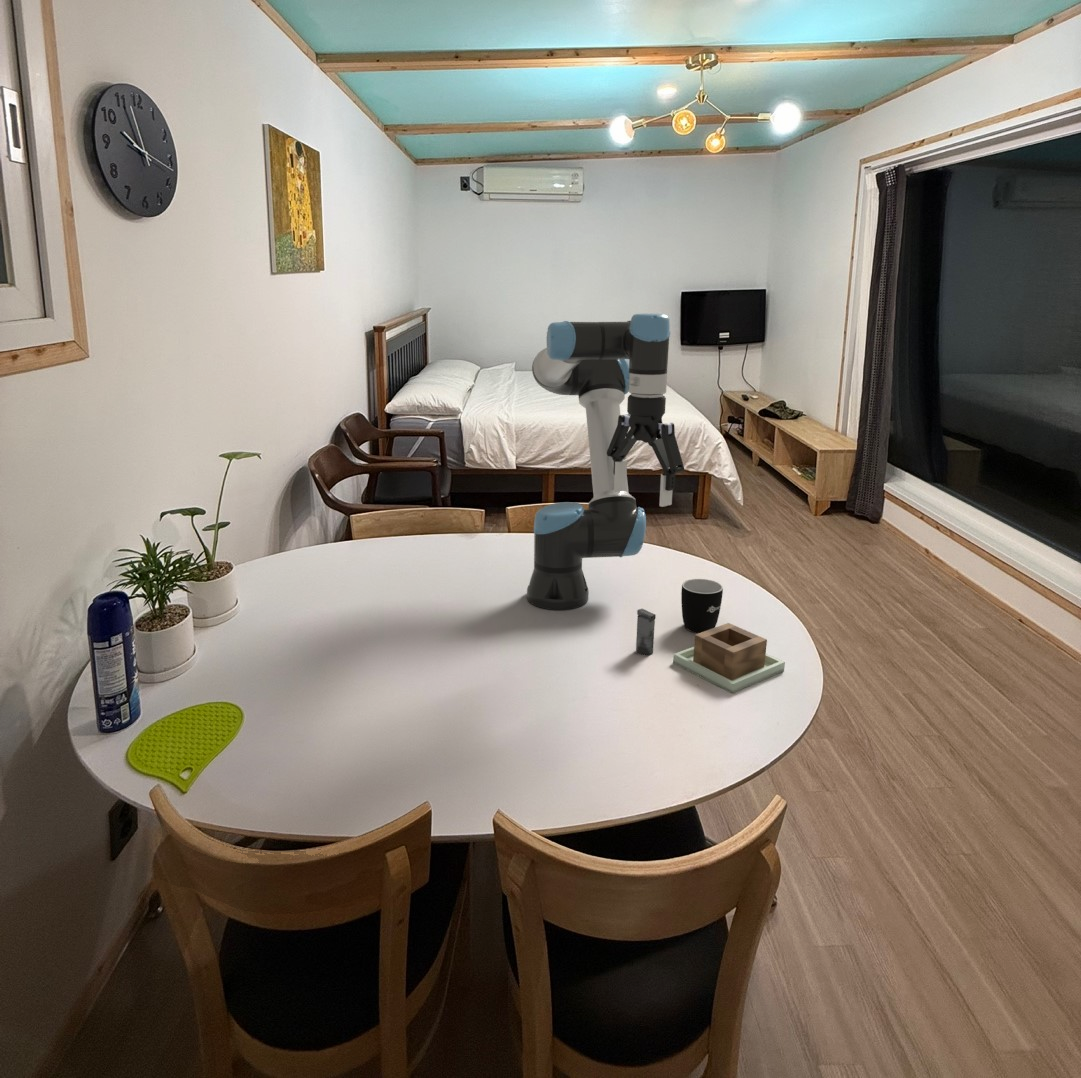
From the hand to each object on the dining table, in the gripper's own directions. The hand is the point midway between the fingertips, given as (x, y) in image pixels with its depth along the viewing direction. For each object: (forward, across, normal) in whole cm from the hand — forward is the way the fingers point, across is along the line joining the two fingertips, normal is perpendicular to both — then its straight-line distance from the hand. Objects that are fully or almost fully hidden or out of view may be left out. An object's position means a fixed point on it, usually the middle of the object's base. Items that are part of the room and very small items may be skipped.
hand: (642, 498), depth 165 cm
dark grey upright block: (+32, +6, -3) cm, 32 cm away
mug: (+32, +4, +17) cm, 36 cm away
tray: (+32, +21, +6) cm, 38 cm away
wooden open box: (+31, +21, +6) cm, 38 cm away
